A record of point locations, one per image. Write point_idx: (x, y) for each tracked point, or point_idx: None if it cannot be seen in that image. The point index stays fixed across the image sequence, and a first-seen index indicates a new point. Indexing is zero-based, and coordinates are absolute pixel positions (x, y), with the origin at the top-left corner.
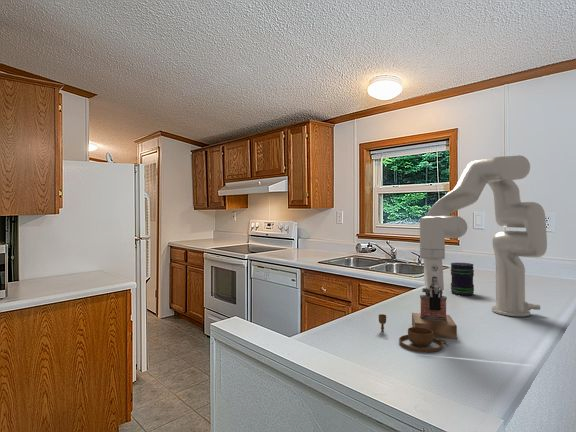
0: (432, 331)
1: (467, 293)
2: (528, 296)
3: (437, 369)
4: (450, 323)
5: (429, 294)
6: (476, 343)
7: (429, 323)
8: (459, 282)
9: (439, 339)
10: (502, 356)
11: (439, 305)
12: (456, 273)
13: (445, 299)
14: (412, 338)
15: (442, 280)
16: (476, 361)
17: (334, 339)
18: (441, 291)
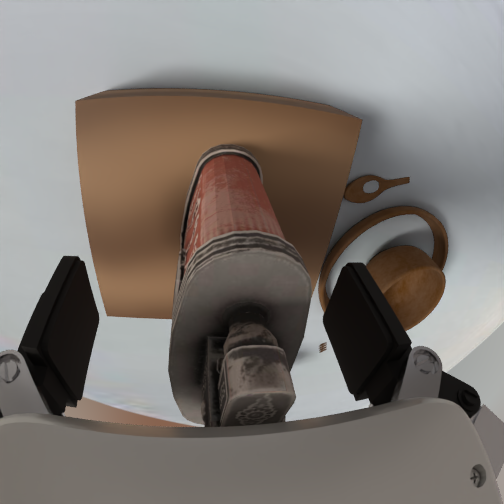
0: (429, 268)
1: None
2: None
3: (497, 251)
4: (314, 142)
5: (76, 360)
6: (384, 42)
7: (316, 263)
8: None
9: (349, 195)
10: (484, 42)
11: (375, 294)
12: None
13: (299, 256)
14: (409, 309)
15: (499, 501)
16: (501, 147)
17: (316, 408)
18: (291, 383)
